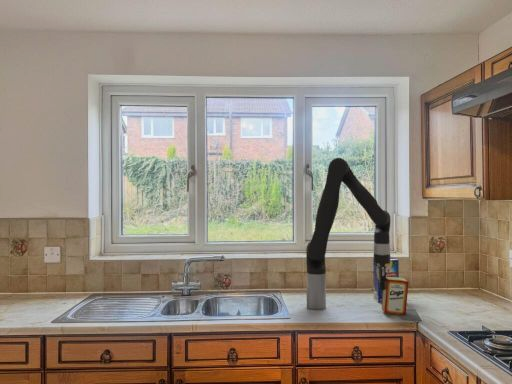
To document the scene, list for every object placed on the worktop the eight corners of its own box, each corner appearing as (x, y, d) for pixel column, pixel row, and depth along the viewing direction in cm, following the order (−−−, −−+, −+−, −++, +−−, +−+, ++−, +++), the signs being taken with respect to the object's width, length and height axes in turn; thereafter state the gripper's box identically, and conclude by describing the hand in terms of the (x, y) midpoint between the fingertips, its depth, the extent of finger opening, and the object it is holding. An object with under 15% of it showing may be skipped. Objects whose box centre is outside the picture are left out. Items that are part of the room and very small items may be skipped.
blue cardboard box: (399, 302, 212) (398, 259, 212) (378, 303, 211) (378, 260, 211) (393, 298, 219) (393, 257, 219) (373, 299, 218) (373, 258, 218)
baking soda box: (384, 313, 189) (387, 278, 189) (381, 309, 196) (384, 275, 196) (405, 315, 188) (408, 280, 188) (402, 311, 195) (405, 277, 195)
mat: (401, 320, 183) (401, 319, 183) (396, 308, 200) (396, 307, 200) (422, 321, 181) (422, 320, 181) (414, 309, 199) (414, 308, 199)
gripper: (372, 250, 200) (372, 286, 200) (374, 254, 187) (375, 292, 187) (388, 250, 199) (388, 286, 199) (391, 255, 186) (392, 293, 186)
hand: (382, 289), depth 193 cm, fingers closed
